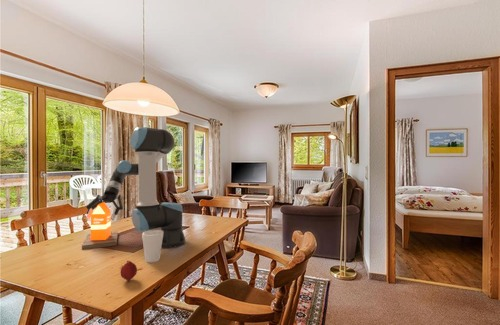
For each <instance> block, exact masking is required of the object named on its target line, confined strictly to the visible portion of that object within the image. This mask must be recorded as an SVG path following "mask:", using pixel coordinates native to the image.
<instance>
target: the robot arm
mask: <svg viewBox="0 0 500 325" xmlns="http://www.w3.org/2000/svg"><path fill="white" fill-rule="evenodd" d="M129 141H130V143H129V144H130V147H131V149H133V150H134V153H135V155H137V156H138V158H137V159H138V160H137V162H138V163H131V162H130V161H128V160H124V159H123V160H121V161H119V163H118V164H117V165H116V167H115V169H114V171H113V172H112V175H111V176H110V178H109V179H110V180H109V182H108V183H107V186H106V188H105V190H104V192H103V195H100V194H97V195H96V197H95V198H94V199H93V200H91V202H89V203H88V204H87V205H86V206H85V208H86V209H87V212H86V217H85V219H86V220H87V222H89V221H90V220H91V214H92V212H93V211H94V210H95V209H96V207H97V206H98V205H99V204H101V203H103V202H104V203H105V204H107V203H108V204H111V203H112V204H113V205H114V207H115V208H114V209H113V211H112V212H111V222H112V221H115V218H116V216H117V215H118V214H119V212H120V211H123V210H124V207H123V203H122V199H123V198H122V195H121V194H119V192H120V191H121V188H122V186H123V183H124V180H125V178H126V177H127V176H138V202H137V203H136V204H135V208H134V209H132V211H131V222H132V224H133V226H134V228H135V230H137V231H138V232H142V231H143V232H145V231H149V230H157V229H160V230H162V231H163V239H162V246H161V248H164V249H165V248H166V249H170V248H178V247H182V246H184V245H185V244H186V237H185V234H184V231H183V214H184V213H183V212H184V211H183V205H182V204H181V203H178V202H169V201H168V202H161V203H160V202H159V201H158V200H157V163H158V162H159V161H160V160H161V159H162V158H163V157H164V156H165V155H168V154H170V153H171V152H172V150H173V149H174V147H175V138H174V136H173V135H172V133H171V132H170V131H168V130H166V129H162V128H161V129H160V128H152V127H146V126H145V127H143V126H142V127H140V126H139V127H136V128H135V129H134V130H133V131H132V133H131V135H130V140H129ZM115 200H117V201H118V205H119V206H118V205H117V203H116V201H115Z"/></svg>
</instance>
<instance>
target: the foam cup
mask: <svg viewBox="0 0 500 325" xmlns="http://www.w3.org/2000/svg"><path fill="white" fill-rule="evenodd" d="M162 239H163V231H162V230H161V229H151V230H148V231H146V230H145V231H143V232H142V234H141V240H142V244H143V245H142V246H143V252H144V254H143V255H144V260H145V262H146V263H155V262H158V261H160V259H161V258H160V257H161V251H162V247H161V246H162Z"/></svg>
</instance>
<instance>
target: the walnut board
mask: <svg viewBox="0 0 500 325" xmlns="http://www.w3.org/2000/svg"><path fill="white" fill-rule="evenodd" d="M118 236H119V231H118V230H116V231H111V235H110V236H109V237H108V238H107V239H106V240H91V233H88V234H87V235H86V236H85V239H84V240H83V243H82V245H81V250H88V249H96V248H104V247H112V246H117V245H118V244H117V243H118Z"/></svg>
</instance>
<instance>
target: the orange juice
mask: <svg viewBox="0 0 500 325" xmlns="http://www.w3.org/2000/svg"><path fill="white" fill-rule="evenodd" d="M111 216H112V211H111V209H110V207H108V206H107V203H104V202H103V203H101V204H99V205H98V206H97V207H96V208H95V209H93V212H92V214H91V217H90V234H91V240H106V239H107V238H108V237H109V236H110V235H111V232H112V230H111V229H112V228H111V225H112V219H111Z"/></svg>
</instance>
